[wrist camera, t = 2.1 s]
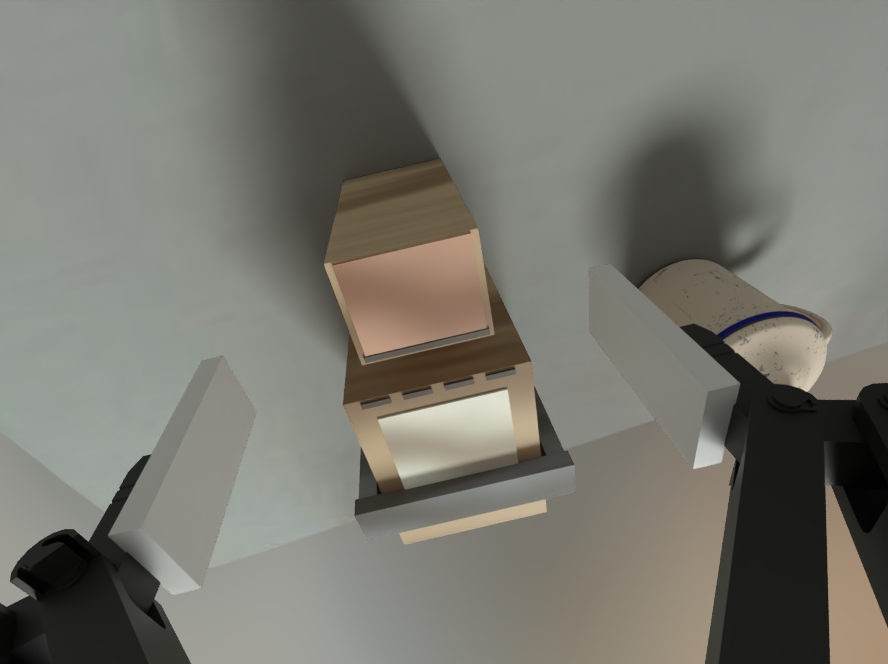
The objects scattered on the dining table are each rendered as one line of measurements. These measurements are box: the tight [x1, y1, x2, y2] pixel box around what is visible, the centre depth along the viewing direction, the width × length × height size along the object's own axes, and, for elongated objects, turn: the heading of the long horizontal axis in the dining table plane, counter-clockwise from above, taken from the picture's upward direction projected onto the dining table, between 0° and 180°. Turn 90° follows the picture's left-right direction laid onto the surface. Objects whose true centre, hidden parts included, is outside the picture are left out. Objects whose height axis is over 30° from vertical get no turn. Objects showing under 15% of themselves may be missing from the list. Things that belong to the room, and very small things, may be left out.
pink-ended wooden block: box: [324, 158, 495, 365], centre depth 23 cm, size 5×6×12 cm
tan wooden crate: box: [343, 262, 575, 545], centre depth 29 cm, size 12×12×13 cm
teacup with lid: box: [638, 259, 832, 392], centre depth 30 cm, size 12×9×12 cm
